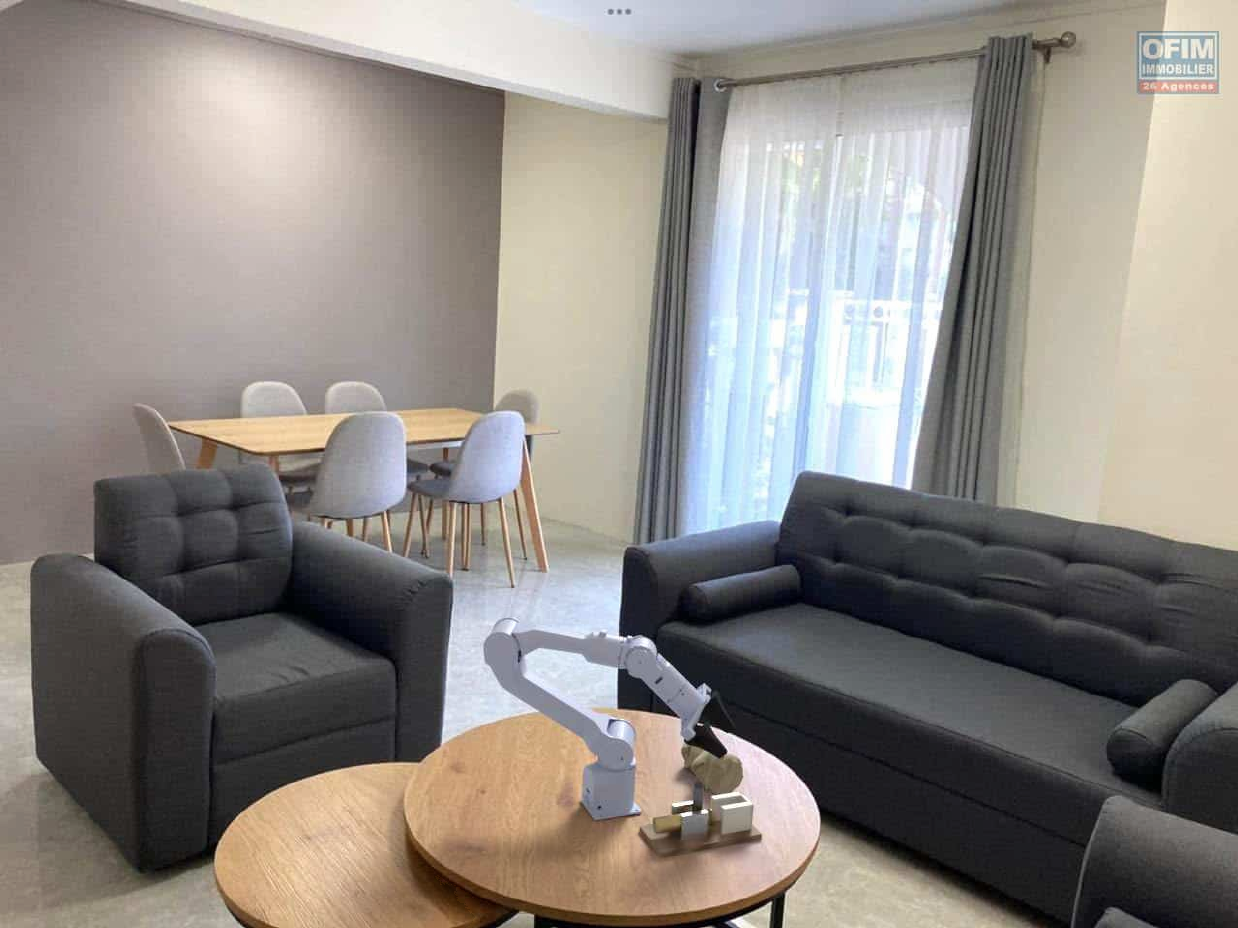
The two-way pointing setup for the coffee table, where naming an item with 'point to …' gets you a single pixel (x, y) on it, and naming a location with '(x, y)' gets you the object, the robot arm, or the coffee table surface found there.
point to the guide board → (694, 833)
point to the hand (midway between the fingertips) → (727, 742)
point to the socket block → (732, 812)
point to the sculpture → (713, 769)
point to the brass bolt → (674, 821)
